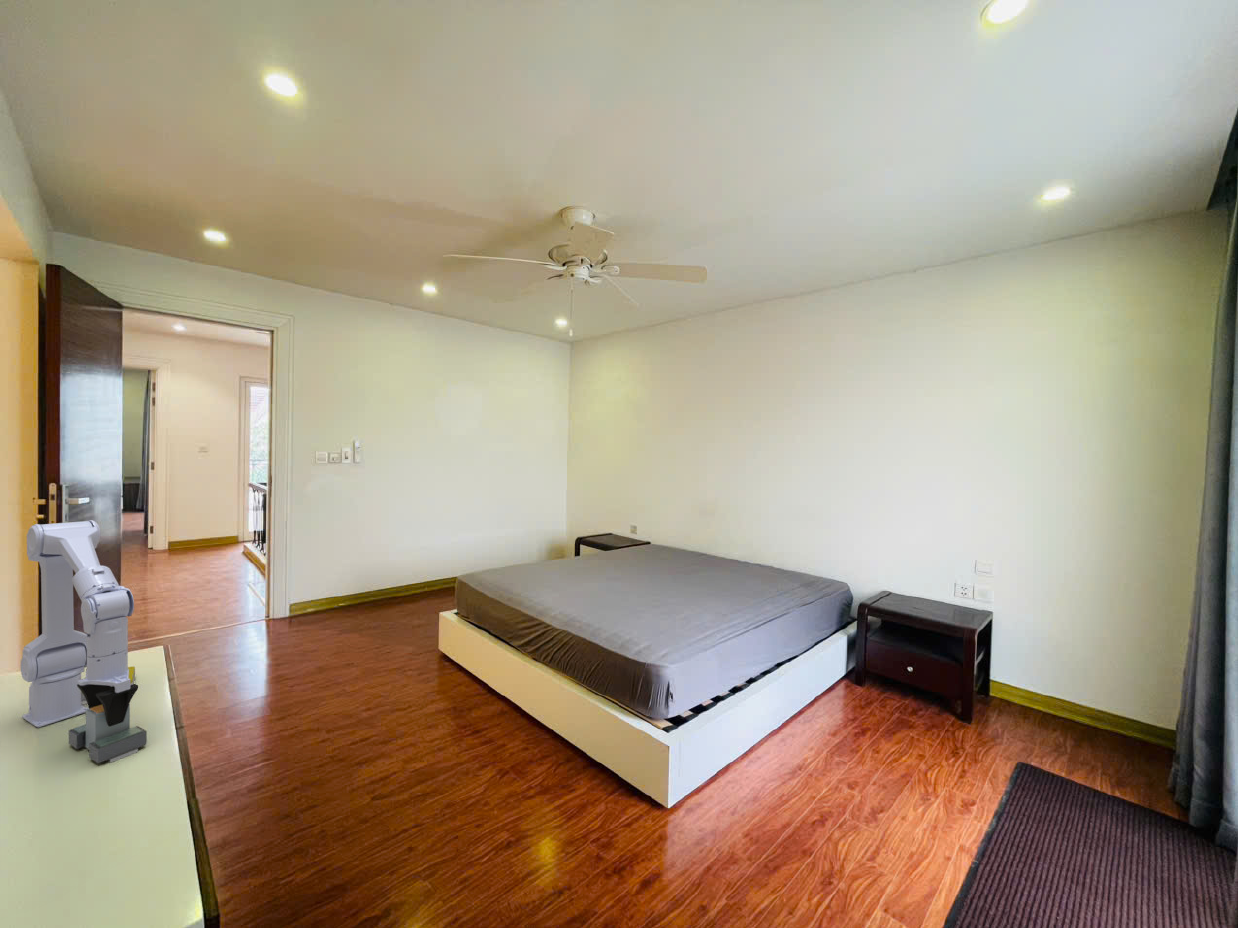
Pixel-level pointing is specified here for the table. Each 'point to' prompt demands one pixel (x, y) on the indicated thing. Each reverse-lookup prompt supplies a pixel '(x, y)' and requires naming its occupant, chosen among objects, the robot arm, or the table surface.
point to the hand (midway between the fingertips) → (107, 719)
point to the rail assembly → (110, 743)
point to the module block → (102, 724)
